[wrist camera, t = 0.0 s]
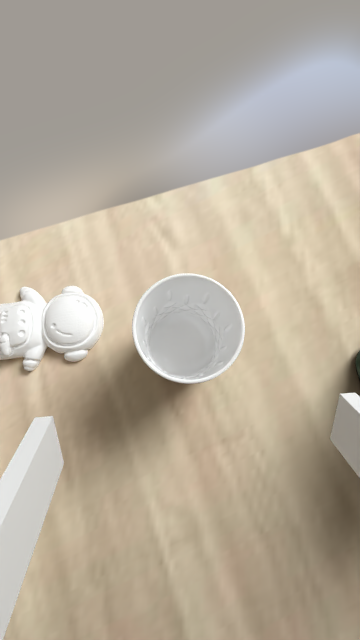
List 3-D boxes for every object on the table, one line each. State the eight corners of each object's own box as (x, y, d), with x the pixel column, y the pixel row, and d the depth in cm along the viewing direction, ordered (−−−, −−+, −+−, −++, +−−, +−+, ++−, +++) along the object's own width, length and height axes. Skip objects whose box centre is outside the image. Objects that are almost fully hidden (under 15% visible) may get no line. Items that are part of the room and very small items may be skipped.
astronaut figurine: (-10, 289, 30) (-28, 278, 28) (105, 287, 31) (99, 276, 28) (-21, 373, 28) (-42, 371, 25) (103, 369, 29) (96, 366, 26)
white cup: (138, 384, 28) (126, 379, 19) (145, 308, 30) (137, 269, 21) (217, 389, 29) (244, 387, 19) (219, 313, 31) (245, 277, 21)
